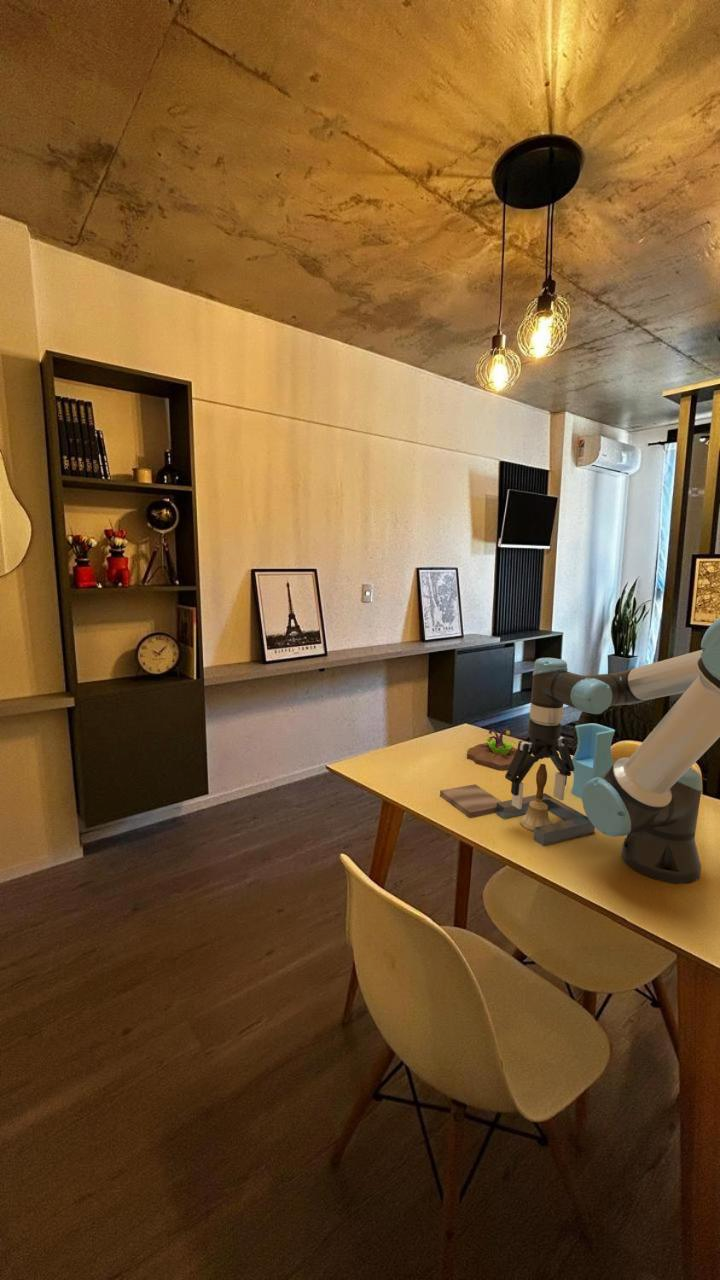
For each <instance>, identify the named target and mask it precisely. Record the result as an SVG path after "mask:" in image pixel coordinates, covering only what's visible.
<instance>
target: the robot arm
mask: <svg viewBox="0 0 720 1280" xmlns="http://www.w3.org/2000/svg"><path fill="white" fill-rule="evenodd" d="M700 648H701V649H700V650H696V651H692V652H689V653H685V654H682V655H678V656H675V657H671V658H667V659H663V660H660V661H657V662H656V661H655V662H653V663H649V664H645V665H642V666H638V667H635V668H631V669H627V670H624V671H619V672H613V673H601V674H587V675H586V674H585V675H583V674H577V673H573V672H570V671H568V663H567V661H566V660H563V659H561V658H554V657H540V658H537V659H536V660H535V662H534V666H533V672H532V684H531V698H530V708H529V718H530V719H529V721H528V731H527V733H528V735H529V736H528V737H529V741H528V742H524V741H522V740H520V741H519V742H518V743H517V748H516V749H517V752H516V754H515V756H514V758H513V760H512V762H511V764H510V767H509V769H508V770H506V773H505V775H504V777H505V779H506V780H508V781H510V782H511V787H510V788H511V789H510V793H511V794H512V795H511V800H512V805H513V806H515V807H516V808H518V809H522V798H523V796H524V783H523V781H524V779H525V777H526V776H527V775H528V773H529V771H530V770H531V769H532V768H533V766H534V765H535V763H537V762H538V761H539V760H542V759H550V760H551V763H553V765H554V766H555V768H556V769H557V771H556V772H554V773H555V774H554V776H555V777H554V783H553V784H554V787H553V798H555V799H557V800H558V801H560V802H561V801H564V799H565V788H566V785H567V782H568V781H567V779H568V777H570V776H571V775H572V772H573V771H574V765H573V762H572V757H571V756H572V755H571V753H570V750H569V745H568V743H569V742H568V741H569V740H568V738H567V737H564V736H561V733H562V721H563V714H564V713H563V712H564V706H568V707H571V708H573V709H576V710H578V711H580V712H583V713H588V714H589V713H590V714H593V715H601V714H603V713H604V712H605V711H607V710H608V708H610V707H615V706H625V705H627V706H630V705H636V704H639V703H643V702H644V701H649V700H654V699H658V698H662V697H663V698H664V697H668V696H673V695H674V696H675V695H678V694H682V695H681V696H680V697H679V698H678V700H677V701H676V702H675V703H674V704H673V706H672V707H671V708H669V710H668V711H667V713H666V714H665V715H664V716H663V717H662V719H661V720H660V721H659V722H658V723H657V725H656V726H654V728H653V730H652V731H651V732H650V733H649V734H648V735H647V736H646V738H645V739H644V740H643V741H642V743H641V744H640V745H639V746H638V747H637V748H636V750H635V751H634V752H633V753H632V754H631V755H630V757H628V756H627V757H620V758H618V759H617V760H616V761H615V762H613V763H614V764H613V765H612V766H611V768H610V769H609V770H608V771H607V773H606V774H605V775H604V776H602V777H595V778H592V779H591V780H589V781H587V782H586V783H585V785H584V787H583V789H582V798H581V802H582V807H583V810H584V814H585V816H587V817H588V819H589V820H590V822H591V823H592V824H593V826H594V827H595V830H597V831H599V832H600V833H601V834H603V835H606V836H608V837H613V838H614V837H625V839H624V841H623V842H622V846H621V858H622V859H623V861H624V863H626V864H627V865H628V866H629V867H630V868H632V869H633V870H634V871H636V872H637V873H640V874H642V875H643V876H646V877H648V878H651V879H654V880H657V881H660V882H661V881H662V882H664V883H670V884H678V885H679V884H680V885H683V884H692V883H694V882H696V881H698V880H699V879H700V877H701V872H702V870H701V869H702V864H701V863H702V862H701V861H700V856H699V852H698V848H697V843H696V830H697V824H698V816H699V808H700V801H701V797H702V796H701V793H703V789H702V776H701V774H700V773H699V772H698V771H697V770H695V769H693V768H692V767H693V765H695V764H696V763H697V761H698V760H699V759H700V758H701V757H702V756H703V755H704V754H705V753H706V752H707V751H708V750H709V749H710V748H711V747H712V746H713V745H714V744H715V743H716V741H718V740H719V738H720V617H719V618H718V619H716V620H715V621H714V622H713V623H711V625H710V626H709V627H708V628H707V630H706V631H705V633H704V634H703V637H702V639H701V643H700ZM557 749H558V751H557Z"/></svg>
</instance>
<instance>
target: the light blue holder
mask: <svg viewBox="0 0 720 1280" xmlns="http://www.w3.org/2000/svg"><path fill="white" fill-rule="evenodd" d="M574 727H575V731H576V736H577V746H576V750H575V752H574V754H573V756H572V757H571V759H572V762H573V765H574V771H573V781H572V782H573V783H572V784H573V785H572V789H571V791H570V793H571V794H572V795H574V796H576V797H578V798H581V799H582V789H583V787H584V785H585V783H586V782H587V781H589V780H591V779H592V778H595V777H602V776H604V775H605V774H606V773H607V771H608V770H609V769H610V768H611V766H612V765H613V764H614V763H615V762H614V760H613V757H612V756H613V755H612V749H611V747H612V742H613V737H614V735H615V732H616V730H615V729H614V728H612V727H608V726H605V725H602V724H599V723H594V722H593V723H592V722H591V723H590V722H589V723H583V724H578V725H577V724H576V725H575V726H574Z"/></svg>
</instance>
